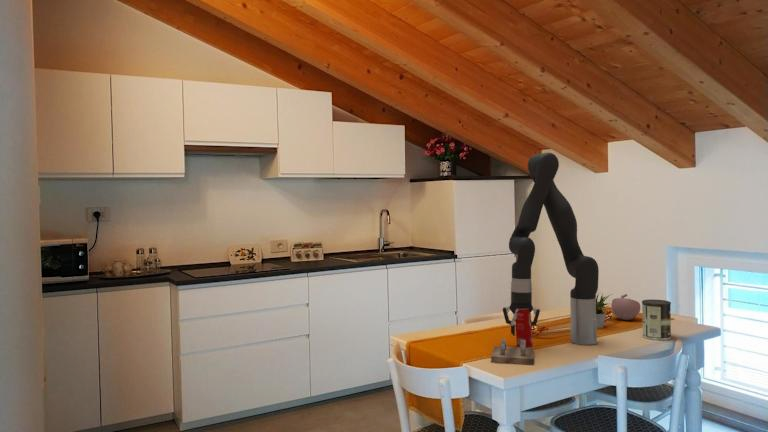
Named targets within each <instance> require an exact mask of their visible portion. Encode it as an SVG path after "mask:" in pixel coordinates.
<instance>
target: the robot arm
mask: <svg viewBox="0 0 768 432" xmlns="http://www.w3.org/2000/svg"><path fill="white" fill-rule="evenodd" d="M559 166H560V161H559V158H558V157H557V156H556V155H555V154H554V153H552V152H542V153H538V154H534V155H532V156H531V157H530V158H528V162H527V171H528V173H529V176H530V177H531V180H532V181H533V186H532V188H531V191H530V192H529V194H528V196H527V197H526V199H525V201H524V202H523V205H522V208H521V210H520V214H519V218H518V222H517V224H516V226H515V228H514V230H513V232H512V234H511V236H510V238H509V242H508V249H509V251H510V253H512V254H513V255H516V256H517V258H516V261H515V262H513V263H512V265H511V282H510V305H509V306H508V307H507V306H503V307H502V312H503V316H504V321H505V323H506V325H510V334H511V335H512V336H513V337H514V336H516V323H515V320H516V318H517V312H518V309H529V311H530V313H531V314H532V312H533V314H534V318H533V321H531V322H530V327H532V328H533V326H536V325H537V322H538V319H539V316H540V313H541V309H540V308H535V307H533V304H532V303H533V302H532V300H533V298H532V296H533V294H532V293H533V287H532V286H533V284H532V266H533V265H532V264H533V262H534V257H535V255H536V245H535V242H534V240H533V239H532V238H530V235H531V233H534V232H535V231H536V230H537V228H538V224H539V220H540V217H541V214H542V210H543V206H544V210H545V211H546V214H547V217H548V220H549V223H550V224H551V227H552V229H553V232H554V234H555V237H556V240H557V242H558V244H559V247H560V249H561V254H562V256H563V258H562V259H563V261H564V264H565V268H566V270H567V273H568V274H569V276H571V277H572V278H573V279H575V284H574V287H573V288H572V289H571V290H570V293H569V294H570V295H569V297H570V302H569V303H570V342H571V343H573V344H576V345H580V346H581V345H582V346H583V345H584V346H586V345H587V346H590V345H598V328H597V319H596V298H597V293H598V291H599V270H600V269H599V264H598V262H597V260H596V259H595V258H593V257H592V256H587V255H585V254H584V253H583V251H582V249H581V247H580V244H579V241H578V222H577V218H576V215H575V213H574V210H573V208H572V205H571V203H570V202H569V201H568V200H567V198H566V197H565V196H564V195H563V193H561V191H560V189H558V187H557V185H556V183H555V177H556V176H557V173H558V170H559V168H560V167H559ZM510 311H511V313H512V314H513V316H512V319H510V316H509V314H508V313H509V312H510Z"/></svg>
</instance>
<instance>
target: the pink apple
mask: <svg viewBox="0 0 768 432" xmlns="http://www.w3.org/2000/svg"><path fill="white" fill-rule="evenodd" d="M625 297H626V298H625ZM627 297H628V294H627V293H625V294H623V295H621V296H620V297H616V298H613V299H612V300H611V303H610V307H611V312H612V313H613V314H614V316H616V318H619V320H624V321H630V320H633V319H635V318H636V317H638V315H639V314H640V313H641V312H640V311H641V303H640V302H639V301H637V300H634V299H631V298H627Z"/></svg>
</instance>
